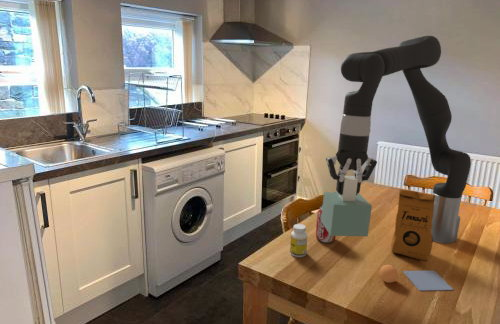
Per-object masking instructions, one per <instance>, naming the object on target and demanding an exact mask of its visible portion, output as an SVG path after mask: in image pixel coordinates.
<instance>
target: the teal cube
mask: <svg viewBox="0 0 500 324" xmlns="http://www.w3.org/2000/svg"><path fill="white" fill-rule="evenodd" d="M343 182H344V186H343V194H342V195H339V194H338V192H337V191H336V192H333V191H331V192H329V191H324V192H323V198H322V199H323V200H322V206H323V207H322V216H321V221H322V223H323V224H324V226H325V228H326V229H327V231H328V233H329V234H330V236H336V237H368V236H369V228H370V222H371V215H372V207H373V205H372V204H371V203H370V202H369V201H368V200H367V199H366V198H364V197H363V196H362V195H361V194H360V192H359V193H358V194H357V195H356V191H357V183H358V180H357V179H356V178H355V177H354V175H345V177H344V180H343Z"/></svg>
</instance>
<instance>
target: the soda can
mask: <svg viewBox="0 0 500 324" xmlns="http://www.w3.org/2000/svg"><path fill="white" fill-rule="evenodd" d="M322 207H323V205H321V206H319V210H318V211H317V216H316V225H315V227H316V228H315V237H316V239H317V240H318V241H320V242H321V243H329V244H330V243H332V242H334V241H335V240H336V237H337V236H330V234H329V233H328V231H327V229H326V228H325V226H324V224H323V223H322V221H321V216H322Z"/></svg>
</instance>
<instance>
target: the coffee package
mask: <svg viewBox="0 0 500 324" xmlns="http://www.w3.org/2000/svg"><path fill="white" fill-rule="evenodd" d="M432 194H433V193H425V192H420V191H416V190H409V189H402V188H400V189H399V192H398V202H397V205H398V206H397V213H396V216H395V223H394V225H395V226H394V232H393V236H392V240H391V244H390V250H391V253H395V254H399V255H403V256H406V257H410V258H413V259H415V260H420V261H424V262H426V261H427V260H428V259H429V257H430V256H431V252H432V248H433V242H434V241H433V237H432V234H431V228H432V219H433V211H434V202H435V195H432Z"/></svg>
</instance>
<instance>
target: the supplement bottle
mask: <svg viewBox="0 0 500 324" xmlns="http://www.w3.org/2000/svg"><path fill="white" fill-rule="evenodd" d="M306 228H307V227H306V225H304V224H302V223H296V224H294V225H293V228H292V229H293V230H292V231H291V232H290V247H289V253H290V255H291V256H293V257H295V258H303V257H305V256H306V255H307V252H308V251H307V248H308V233H307V229H306Z"/></svg>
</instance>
